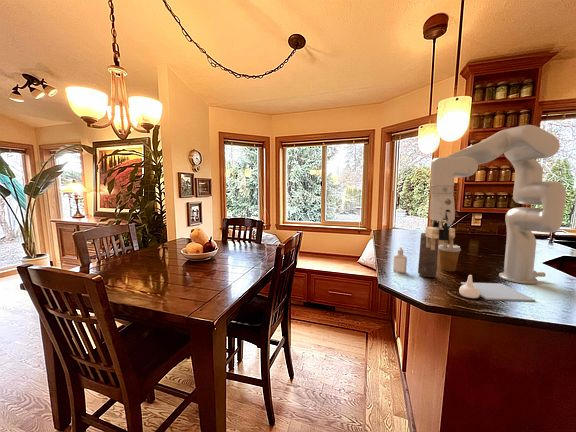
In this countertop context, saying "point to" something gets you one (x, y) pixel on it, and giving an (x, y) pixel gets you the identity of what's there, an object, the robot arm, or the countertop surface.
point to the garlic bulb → (469, 289)
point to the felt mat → (499, 292)
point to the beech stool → (434, 233)
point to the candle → (427, 258)
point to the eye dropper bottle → (400, 262)
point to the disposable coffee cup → (448, 257)
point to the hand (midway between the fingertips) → (439, 238)
